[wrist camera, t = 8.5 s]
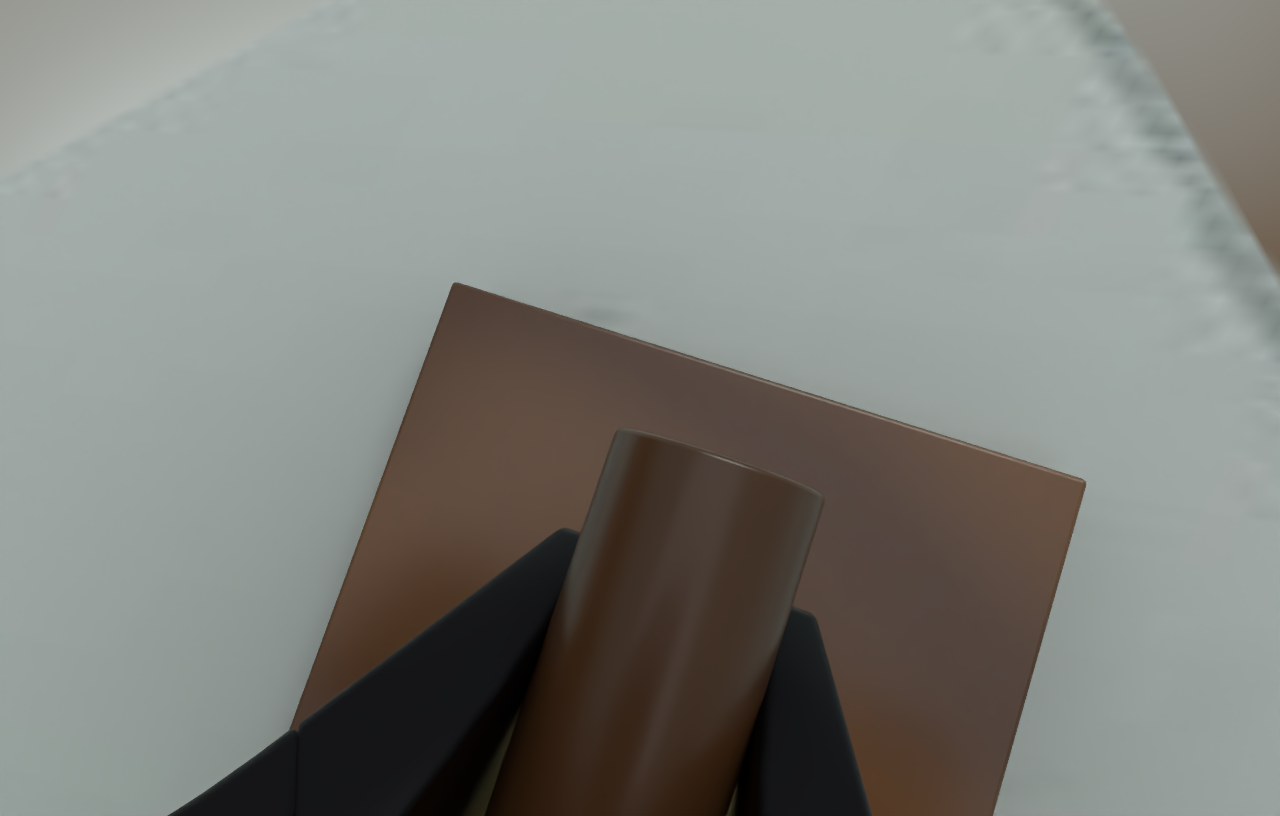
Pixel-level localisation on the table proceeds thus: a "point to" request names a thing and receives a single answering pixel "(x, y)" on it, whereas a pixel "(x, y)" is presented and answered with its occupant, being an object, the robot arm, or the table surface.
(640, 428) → the cutting board
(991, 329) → the table surface
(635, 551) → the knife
